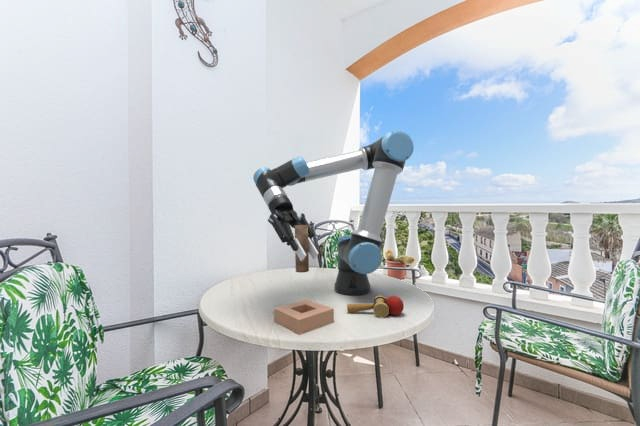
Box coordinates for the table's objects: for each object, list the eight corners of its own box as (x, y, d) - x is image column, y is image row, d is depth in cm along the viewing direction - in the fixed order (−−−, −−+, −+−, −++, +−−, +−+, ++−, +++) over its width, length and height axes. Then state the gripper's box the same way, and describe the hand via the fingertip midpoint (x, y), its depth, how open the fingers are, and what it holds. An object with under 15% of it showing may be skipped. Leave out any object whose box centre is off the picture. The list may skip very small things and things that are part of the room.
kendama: (348, 322, 91) (406, 316, 88) (345, 301, 92) (402, 295, 90) (350, 317, 99) (403, 312, 96) (347, 298, 100) (400, 292, 97)
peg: (303, 269, 91) (302, 224, 91) (311, 271, 88) (310, 225, 88) (293, 271, 89) (292, 225, 89) (301, 273, 86) (299, 225, 85)
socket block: (307, 311, 98) (306, 299, 98) (333, 321, 88) (333, 308, 88) (274, 321, 89) (273, 308, 89) (299, 334, 79) (299, 319, 79)
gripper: (294, 210, 105) (325, 261, 93) (251, 211, 94) (280, 269, 82) (303, 195, 101) (336, 246, 89) (259, 194, 90) (291, 252, 78)
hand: (309, 257), depth 85 cm, fingers closed on peg, 4 cm apart
